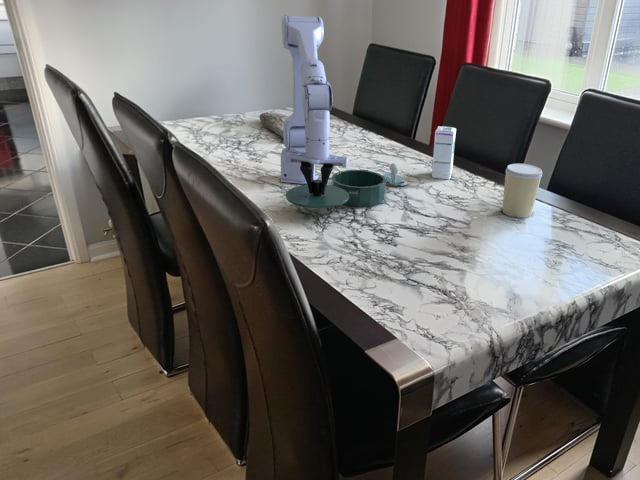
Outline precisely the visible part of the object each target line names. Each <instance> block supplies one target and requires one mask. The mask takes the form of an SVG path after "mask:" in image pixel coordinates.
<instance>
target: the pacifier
mask: <svg viewBox="0 0 640 480" xmlns="http://www.w3.org/2000/svg"><path fill="white" fill-rule="evenodd" d="M389 171H390V172H385V173H383V176H384V177H385V178H386V183H387V182H388V184H389V185H390V186H395V187H397V186H406V185H408V182H407V181H406V180H405V179H403V178H402V177H400V176H398V175H397V174H398V168H397V165H396V164H395V163H393V162H392V163H391V164H390V165H389Z"/></svg>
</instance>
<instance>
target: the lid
mask: <svg viewBox="0 0 640 480" xmlns="http://www.w3.org/2000/svg"><path fill="white" fill-rule="evenodd" d="M321 185H322V180H321V179H317V180H313V193H312V194H311V193H309V189H308V185H307V184H301V185H297V186H294V187H292V188H290V189H288V190H287V191H286V192H285V199H286V201H288V202H289V203H290V204H293V205H295V206H298V207H302V208H309V209H330V208H336V207H339V206H343V205H342V204H344V203H346V202H347V201H348V199H349V194H348V192H347V191H345V190H344V189H342V188H339V187H336V186H331V184H327V187H326V193H325V194H324V195H321Z"/></svg>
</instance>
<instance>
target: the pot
mask: <svg viewBox="0 0 640 480" xmlns="http://www.w3.org/2000/svg"><path fill="white" fill-rule="evenodd" d="M330 185H331V186H336V187H339V188H342V189H344V190H345V191H347V192H348V194H349V199H348V201H347V202H346V203H344V204H342V205H341V206H346V207H351V208H369V207H370V208H371V207H375V206H379V205H381V204H382V203H384V201H385V199H386V194H387V193H386V192H387V191H386V190H387V181H386V178H385V177H384V174H380V173H379V172H375V171H371V170H369V169H362V168H361V169H346V170H340V171H338V172H335V173H333V174H332V175H331V176H330Z"/></svg>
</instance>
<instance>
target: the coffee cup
mask: <svg viewBox="0 0 640 480" xmlns="http://www.w3.org/2000/svg"><path fill="white" fill-rule="evenodd" d="M542 177H543V171H542V169H541V168H540V167H538V166H535V165H533V164H528V163H511V164H508V165H507V167H506V168H505V178H504V187H503V198H502V212H503V214H505V215H507V216H509V217H512V218H521V219H522V218H528V217H530V216H531V215H532V213H533V211H534V206H535V202H536V199H537V195H538V191H539V187H540V183H541V179H542Z"/></svg>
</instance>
